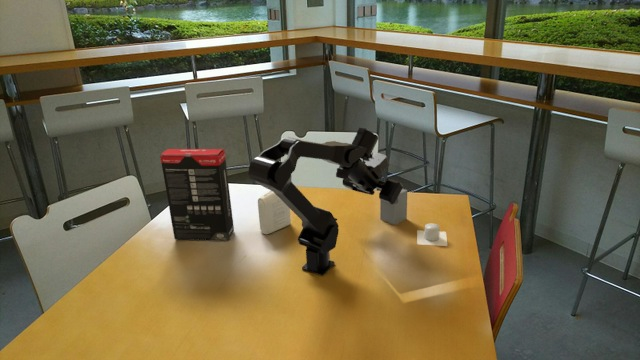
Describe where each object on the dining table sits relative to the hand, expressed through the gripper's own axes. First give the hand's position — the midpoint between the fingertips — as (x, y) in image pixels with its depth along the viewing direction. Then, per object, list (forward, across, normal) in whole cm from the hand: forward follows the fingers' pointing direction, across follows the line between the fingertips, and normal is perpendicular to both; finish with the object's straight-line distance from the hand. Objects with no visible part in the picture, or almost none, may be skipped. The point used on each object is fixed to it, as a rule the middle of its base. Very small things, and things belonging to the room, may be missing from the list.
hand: (385, 197), depth 139 cm
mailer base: (+9, -15, +5) cm, 18 cm away
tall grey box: (+10, 0, +4) cm, 11 cm away
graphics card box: (-21, +35, +37) cm, 55 cm away
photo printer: (-9, +24, +24) cm, 35 cm away
